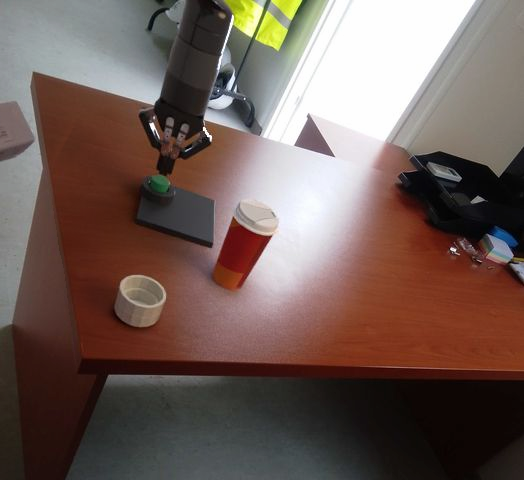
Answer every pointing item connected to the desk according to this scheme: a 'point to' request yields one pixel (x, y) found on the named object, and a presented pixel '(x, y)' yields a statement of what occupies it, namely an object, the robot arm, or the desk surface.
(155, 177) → the button
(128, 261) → the desk surface
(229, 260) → the paper cup
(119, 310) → the bowl
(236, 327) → the desk surface
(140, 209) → the scale
